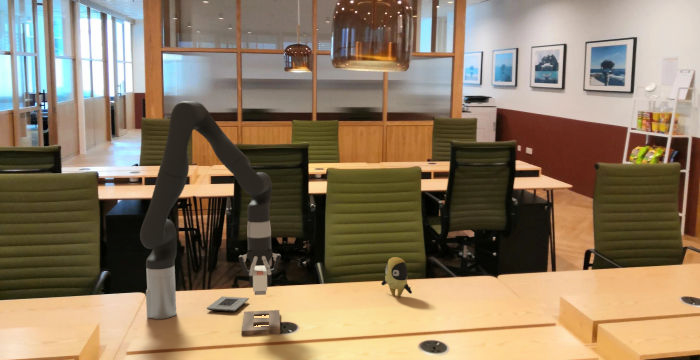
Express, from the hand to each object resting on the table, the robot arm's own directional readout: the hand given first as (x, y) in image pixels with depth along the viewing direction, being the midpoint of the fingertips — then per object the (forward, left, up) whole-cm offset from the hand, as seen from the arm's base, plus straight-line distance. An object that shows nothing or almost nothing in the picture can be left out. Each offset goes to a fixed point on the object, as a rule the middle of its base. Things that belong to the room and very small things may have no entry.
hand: (260, 285), depth 196 cm
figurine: (+50, +23, -13) cm, 57 cm away
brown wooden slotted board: (0, 0, -13) cm, 13 cm away
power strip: (0, 0, -1) cm, 1 cm away
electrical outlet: (-12, +19, -14) cm, 26 cm away
